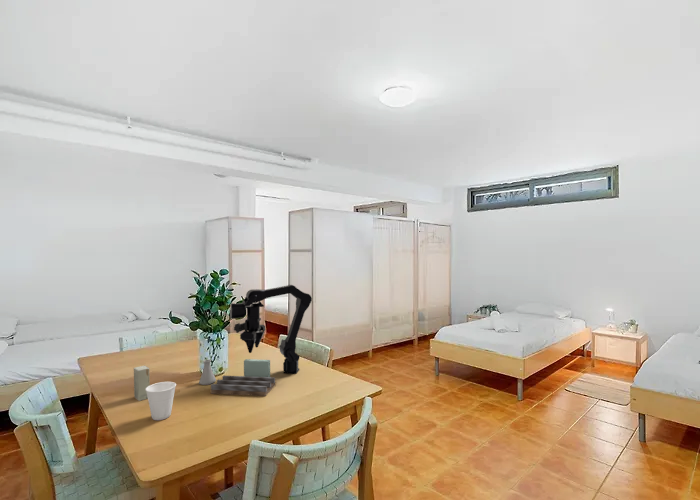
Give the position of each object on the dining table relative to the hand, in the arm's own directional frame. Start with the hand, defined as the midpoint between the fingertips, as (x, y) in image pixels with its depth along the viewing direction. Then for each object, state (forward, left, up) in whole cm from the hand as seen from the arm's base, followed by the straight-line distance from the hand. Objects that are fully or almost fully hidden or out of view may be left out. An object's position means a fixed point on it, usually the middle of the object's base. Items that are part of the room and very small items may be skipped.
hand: (253, 349), depth 171 cm
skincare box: (+37, +27, -13) cm, 47 cm away
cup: (+18, +42, -13) cm, 47 cm away
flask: (+19, +8, -13) cm, 24 cm away
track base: (-1, +14, -13) cm, 19 cm away
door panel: (-1, -1, -13) cm, 13 cm away
